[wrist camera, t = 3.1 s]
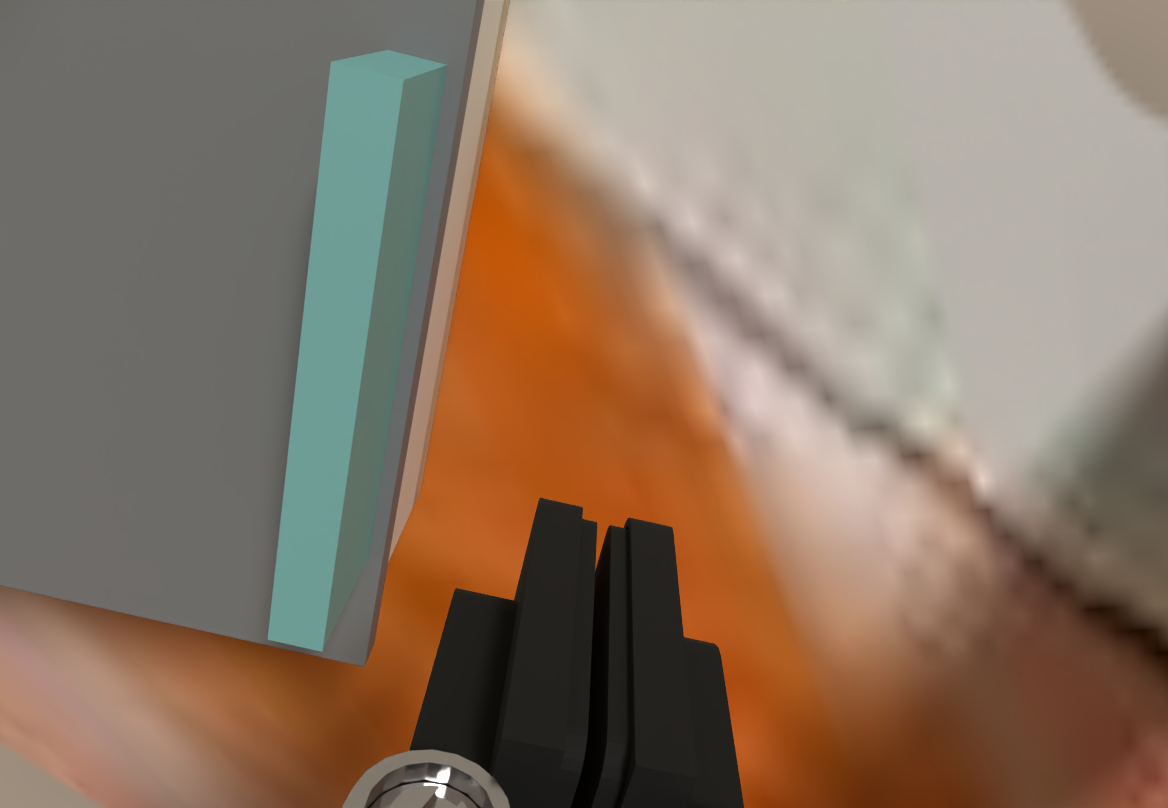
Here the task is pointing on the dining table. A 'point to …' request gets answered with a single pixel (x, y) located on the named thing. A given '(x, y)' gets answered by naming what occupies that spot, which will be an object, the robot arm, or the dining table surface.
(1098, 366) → the dining table surface
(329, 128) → the lid
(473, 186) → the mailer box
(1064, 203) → the dining table surface
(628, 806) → the robot arm
